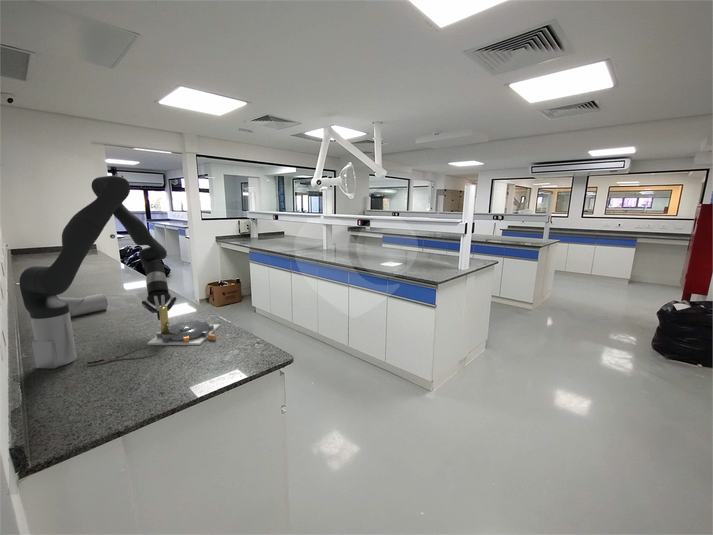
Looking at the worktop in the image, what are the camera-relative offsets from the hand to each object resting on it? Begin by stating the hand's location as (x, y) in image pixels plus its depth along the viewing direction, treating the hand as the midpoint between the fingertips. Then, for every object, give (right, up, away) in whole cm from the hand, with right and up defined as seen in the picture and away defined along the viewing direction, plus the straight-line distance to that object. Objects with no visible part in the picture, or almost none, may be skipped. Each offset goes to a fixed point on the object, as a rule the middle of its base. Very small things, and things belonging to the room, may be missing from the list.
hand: (162, 320), depth 124 cm
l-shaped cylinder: (-60, -1, +27) cm, 65 cm away
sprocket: (+7, -6, +5) cm, 11 cm away
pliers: (-3, -11, -16) cm, 20 cm away
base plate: (+9, -7, +5) cm, 13 cm away
